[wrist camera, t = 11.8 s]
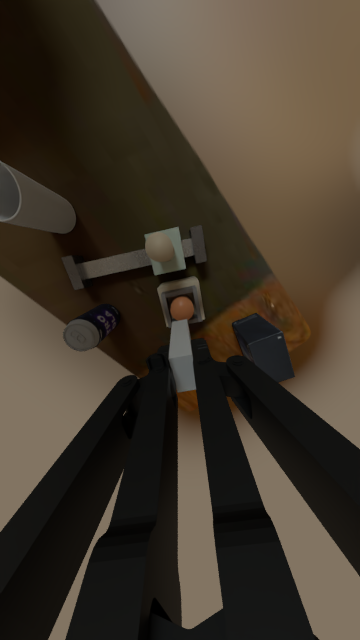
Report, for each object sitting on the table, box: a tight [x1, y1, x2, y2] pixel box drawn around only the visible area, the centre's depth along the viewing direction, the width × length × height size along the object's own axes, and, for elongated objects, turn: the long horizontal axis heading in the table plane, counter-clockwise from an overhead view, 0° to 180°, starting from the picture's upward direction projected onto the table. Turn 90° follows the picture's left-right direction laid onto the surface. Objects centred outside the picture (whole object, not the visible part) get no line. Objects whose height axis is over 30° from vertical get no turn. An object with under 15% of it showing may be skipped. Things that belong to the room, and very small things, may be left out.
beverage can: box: [63, 304, 120, 351], centre depth 32 cm, size 6×6×12 cm
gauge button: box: [170, 295, 194, 321], centre depth 27 cm, size 4×4×3 cm
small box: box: [232, 313, 295, 383], centre depth 35 cm, size 11×6×10 cm, turn 25°
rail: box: [61, 225, 207, 290], centre depth 32 cm, size 6×26×4 cm, turn 102°
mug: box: [0, 161, 76, 234], centre depth 25 cm, size 10×7×12 cm, turn 36°
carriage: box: [145, 227, 186, 275], centre depth 26 cm, size 7×6×14 cm
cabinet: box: [157, 276, 205, 328], centre depth 31 cm, size 7×7×10 cm
